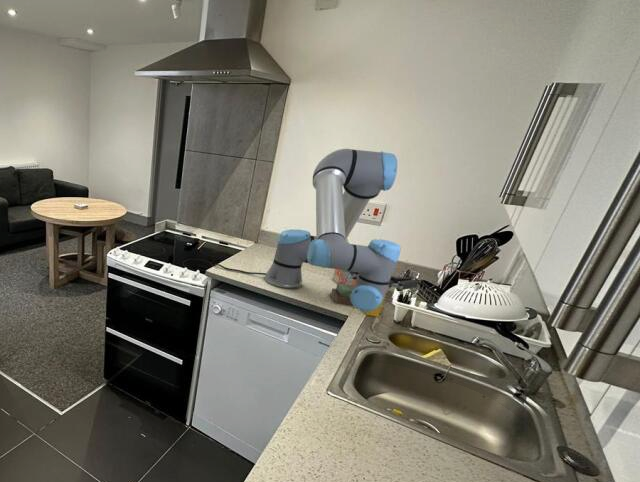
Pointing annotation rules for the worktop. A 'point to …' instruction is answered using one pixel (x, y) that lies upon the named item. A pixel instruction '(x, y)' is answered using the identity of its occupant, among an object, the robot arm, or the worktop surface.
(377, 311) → the bar
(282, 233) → the robot arm
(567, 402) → the worktop surface
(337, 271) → the stack of blocks
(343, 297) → the green brown stepped block
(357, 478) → the worktop surface
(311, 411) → the worktop surface
